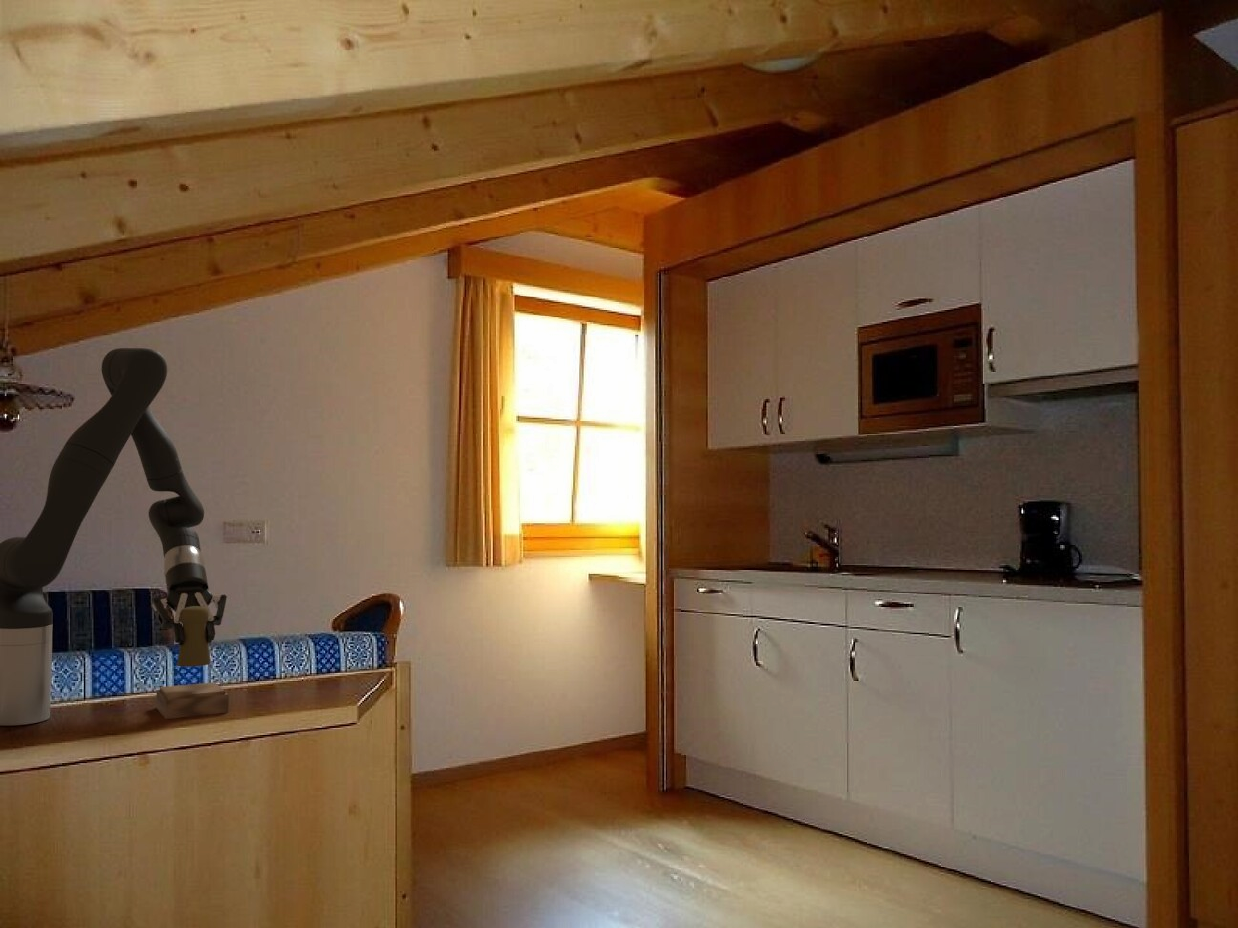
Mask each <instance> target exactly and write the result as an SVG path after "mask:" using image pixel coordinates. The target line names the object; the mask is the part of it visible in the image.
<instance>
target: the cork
mask: <svg viewBox="0 0 1238 928" xmlns="http://www.w3.org/2000/svg"><path fill="white" fill-rule="evenodd" d="M208 618H209V612H208V610H207V608H205V607H201V606H191V607H187V608H184V609H182V610H181V612H180V621H181V623H180V624H182V627H183V634H184V642H183V645H179V649H178V655H177V661H176V666H177V667H182V668H183V667H185V668H186V667H187V668H188V667H189V668H192V667H193V668H195V667H203V666H207V665H210V664H211V662H212V661H211V655H210V654H211V653H210V647H209V643H207V630H206V622H207V621H208Z"/></svg>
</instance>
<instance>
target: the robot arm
mask: <svg viewBox="0 0 1238 928" xmlns="http://www.w3.org/2000/svg"><path fill="white" fill-rule="evenodd" d="M101 374H102V375H101V376H102V378H103V381H104V384H105V385H106V388H107V390H108V391H109V393H110V397H109V399H108V401H106V403H105V404H104V405H103V406H102V408H100V409H99V410H98V411H96V412H95V414H93V415H92V416H91V417H90V418H88V419H87V420H86V421H85V422H83V424H81V425H80V426H79V427H78V428H77V429H76V430H75V431H74V432H73V433H72V434H71V435H70V437H69V438H68V439H67V441H66V442H65V444H64V445H63V447H62V449H61V451H60V452H59V455H58V456H57V458H56V459H55V460H54V463H53V465H52V467H51V470H50V474H49V478H48V483H47V484H48V485H47V492H46V493H47V495H46V499H45V503H44V506H43V508H42V511H41V513H40V515H39V517H38V518H37V520H36V522H35V523H34V525H33V526H32V528H31V529H30V531H29V532H28V534H27V535H26V536H25V537H24V536H20V537H19V536H16V537H11V538H7V539H5V540H3V541H1V542H0V726H6V727H7V726H22V725H31V724H35V723H41V722H44V721H46V720H49V719H50V717H51V698H52V697H51V696H52V694H51V692H52V690H51V688H52V661H53V660H52V659H53V657H52V655H53V627H54V626H53V620H54V619H53V618H54V617H53V616H54V613H53V609H52V607H50V605H49V604H48V603H47V602H46V600H45V599H46V598H45V597H44V590H43V589H44V587H46V586H49V585H50V584H51V583H52V582H54V581H55V580H56V579H57V577H58V576H59V574H60V573H61V571H62V569H63V566H65V565H64V564H65V562H66V560H67V557H68V554H69V553H70V550H71V549H72V546H73V543H74V540H75V538H76V536H77V533H78V532H79V529H80V527H81V525H82V522H83V521H84V519H85V517H86V516H87V514H88V513H89V510H90V508H91V507H92V506H93V504H94V501H95V499H96V497H97V496H98V493H100V490H101V489H102V488H103V486H104V484H105V483H106V480H107V479H108V477H109V475H110V473H111V471H112V470H113V468H114V466H115V464H116V463H117V460H118V458H119V456H120V454H121V452H122V450H123V449H124V447H125V446H126V443H127V442H128V441H129V438H130V436H131V439H132V440H133V442H134V446H135V447H136V450H137V453H138V455H139V460H140V462H141V463H140V464H142V466H141V467H142V469H143V472H144V475H145V478H146V482H147V484H148V487H149V489H150V490H152V491H153V492H159V493H160V492H171V493H175V494H176V495H177V496H173V497H169V498H165V499H161V500H158V501H154V502H153V503H152V504H151V505H150V507H149V509H148V519H149V521H150V522H149V523H150V524H151V525H152V527H153V529H154V530H155V532H156V534H157V536H158V537H159V539H160V542H161V545H162V552H163V559H164V561H163V563H164V564H163V570H164V577H165V584H166V591H167V595H166V597H165V598H161V599H160V598H159V597H155V598H153V599H152V605H151V609H152V611H153V613H154V615H155V617H156V618H157V621H158V622H159V624H160V626H161V628H162V629H164V630H166V629H167V630H168V629H171V630H172V632H173V640H174V642H175V644H178V646H180V645H183V642H184V634H183V624H182V623H181V621H180V612H181V610H182V609H184V608H187V607H191V606H201V607H205V608H207V610H208V612H209V618H208V621H207V622H206V630H207V643H208V644H212V642H213V641H214V640H215V637H216V629H215V626H221V624H222V620H223V617H224V613H225V608H226V603H227V597H228V596H227V595H226V594H221V595H220V596H217V595H216V596H215V595H213V594H212V592H210V588H209V584H208V578H207V572H206V565H205V559H204V557H203V554H202V551H201V545H200V544H201V543H200V538H199V534H198V533H197V532H196V530H194V528H193V527H196V526H200V524H201V523H203V520H204V518H205V508H204V506H203V504H202V502H201V501H200V499H199V498H198V496H197V495H196V493H195V492H194V491H193V489H192V488H191V486H190V484H189V482H188V481H187V479H186V476H185V474H184V471H183V468H182V464H181V461H180V457H179V455H178V452H177V449H176V446H175V443H174V442H173V441H172V439H171V437H170V436H169V434H168V433H167V432H166V430H165V429H164V428H163V426H162V425H161V424H160V422H159V421H158V420H157V418H156V417H155V415H154V413H153V411H152V409H151V408H150V406H151V404H152V403H153V401H154V399H156V397H157V395H158V394H159V392H160V391H161V389H162V388H163V386H164V384H165V381H166V379H167V375H168V364H167V361H166V359H165V356H164V355H162V353H160V352H159V351H157V350H155V349H152V348H151V349H150V348H146V347H139V348H138V347H136V348H135V347H119V348H118V347H117V348H114V349H112V350H110V351H109V352H108V353H107V354H105V355H104V357H103V360H102V362H101ZM192 528H193V529H192ZM211 603H213V606H214V608H215V609H216V614H215V615H214V616H213V615H212V613H211V611H210V607H209V606H210V605H211ZM167 606H168V607H169V608H170V609H172V611H174V612H175V615H174V618H171V617H170V615H169V613H168V611H167V610H166V607H167Z"/></svg>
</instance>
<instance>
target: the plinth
mask: <svg viewBox="0 0 1238 928" xmlns="http://www.w3.org/2000/svg"><path fill="white" fill-rule="evenodd" d="M155 694H156V695H155V696H156V698H155V699H156V701H155V702H156V703H155V708H156V709H157V710H159V711H158V712H159V713H160V714H161V715H162V717H163V718H164V719H166V720H168V719H169V720H170V719H177V718H187V717H188V718H189V717H197V716H205V715H206V716H207V715H208V716H209V715H215V714H217V715H218V714H226V713H229V702H230V701H229V696H230V695H229V693H228V692H226V690H225V689H224V688H222V687H221V686H220V685H219V684H217V683H216V682H215V681H213V682H202V683H195V684H194V683H193V684H180V685H171V686H170V685H169V686H160V687H159V689H156V693H155Z"/></svg>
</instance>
